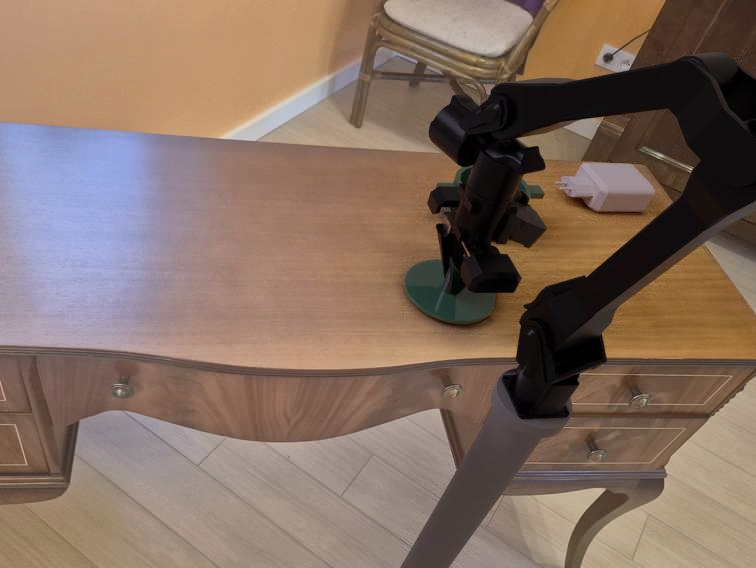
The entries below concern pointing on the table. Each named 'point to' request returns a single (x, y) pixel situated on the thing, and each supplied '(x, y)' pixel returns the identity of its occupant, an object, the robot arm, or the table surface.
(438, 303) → the lid
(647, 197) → the charger
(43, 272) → the table surface
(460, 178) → the pot
